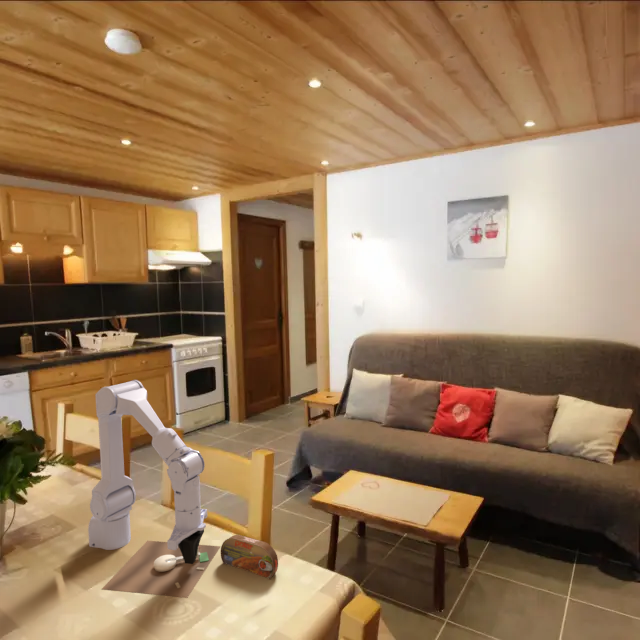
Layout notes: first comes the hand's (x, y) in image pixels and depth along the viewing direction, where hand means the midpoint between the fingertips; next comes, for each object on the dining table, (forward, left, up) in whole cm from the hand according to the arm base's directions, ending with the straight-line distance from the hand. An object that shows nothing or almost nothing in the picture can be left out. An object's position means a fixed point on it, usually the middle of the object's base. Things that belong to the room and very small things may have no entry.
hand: (190, 561), depth 106 cm
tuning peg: (-4, +2, -2) cm, 5 cm away
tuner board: (-7, +1, -3) cm, 7 cm away
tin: (+13, +3, -4) cm, 14 cm away
